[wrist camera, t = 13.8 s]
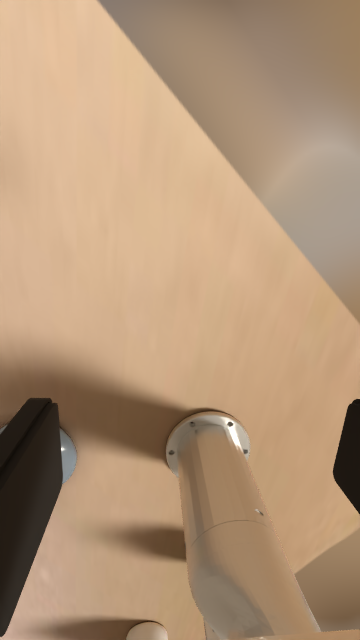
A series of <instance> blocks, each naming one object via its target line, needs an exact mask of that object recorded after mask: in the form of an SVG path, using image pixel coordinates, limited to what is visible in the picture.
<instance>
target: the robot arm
mask: <svg viewBox="0 0 360 640" xmlns="http://www.w3.org/2000/svg"><path fill="white" fill-rule="evenodd" d="M249 454H250V440H249V437H248V434H247V432H246V430H245V428H244V427H243V426H242V424H241V423H240V422H239V421H238V420H236V419H235V418H234V417H232V416H230V415H228V414H225V413H221V412H213V411H209V412H201V413H197V414H194V415H192V416H189V417H187V418H186V419H184V420H183V421H181V422H180V423H179V424H178V425H177V426H176V427H175V428H174V429H173V431H172V432H171V433H170V435H169V438H168V440H167V444H166V458H167V463H168V465H169V468H170V469H171V471H172V472H173V473H174V474H175V475H176V476H177V477H178V478H179V485H180V496H181V507H182V518H183V528H184V539H185V550H186V560H187V570H188V579H189V585H190V588H191V592H192V595H193V598H194V600H195V603H196V605H197V607H198V609H199V611H200V612H201V614H202V616H203V617H204V619H205V620H206V622H207V623H208V624H209V625H210V627H211V628H212V629H213V631H214V632H215V633H216V634H217V635H218V637H219V638H220V639H221V640H360V629H357V630H342V631H329V632H321V630H320V628H319V626H318V624H317V622H316V621H315V618H314V617H313V615H312V613H311V611H310V609H309V607H308V605H307V602H306V600H305V598H304V596H303V594H302V592H301V589H300V587H299V585H298V583H297V581H296V578H295V576H294V574H293V571H292V569H291V567H290V564H289V562H288V560H287V557H286V555H285V552H284V550H283V547H282V545H281V543H280V540H279V538H278V536H277V533H276V531H275V528H274V526H273V523H272V521H271V518H270V516H269V514H268V511H267V509H266V506H265V504H264V501H263V499H262V496H261V494H260V492H259V489H258V487H257V484H256V482H255V479H254V477H253V474H252V472H251V470H250V467H249V465H248V462H247V460H248V457H249ZM333 476H334V479H335V481H336V483H337V484H338V486H339V487H340V488H341V490H342V491H343V492H344V494H345V495H346V496H347V498H348V499H349V500H350V502H351V503H352V504H353V506H354V507H355V509H356V510H357V511H358V513H359V514H360V399H356V400H354V401H353V402H352V404H350V405H349V406H348V409H347V413H346V417H345V421H344V426H343V430H342V434H341V438H340V442H339V447H338V451H337V455H336V459H335V464H334V468H333ZM62 482H63V468H62V454H61V440H60V426H59V412H58V405H57V403H52V400H51V399H50V398H29V399H28V400H27V401H26V403H25V404H24V405H23V406H22V408H21V409H20V410H19V411H18V413H17V414H16V415H15V416H14V418H13V419H12V420H11V421H10V423H9V424H8V425H7V426H6V428H5V429H4V430H3V431H2V433H1V434H0V637H2V636H3V635H4V634H5V632H6V630H7V628H8V626H9V624H10V621H11V618H12V616H13V613H14V610H15V608H16V605H17V603H18V600H19V597H20V595H21V592H22V590H23V587H24V584H25V582H26V579H27V577H28V574H29V571H30V569H31V566H32V563H33V561H34V558H35V556H36V553H37V550H38V548H39V545H40V543H41V540H42V537H43V535H44V532H45V529H46V527H47V524H48V522H49V519H50V516H51V514H52V511H53V509H54V506H55V503H56V501H57V498H58V495H59V493H60V490H61V487H62Z"/></svg>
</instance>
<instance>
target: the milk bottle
mask: <svg viewBox="0 0 360 640" xmlns="http://www.w3.org/2000/svg"><path fill="white" fill-rule="evenodd" d="M126 640H168V636H167V632H166V630H165V628H164V627H163V626H162V625H160V624H158V623H154V622H145V623H140V624H138V625H136V626H134V627H133V628H132V629H131V630H130V631H129V632H128V635H127V638H126Z"/></svg>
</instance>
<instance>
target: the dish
mask: <svg viewBox="0 0 360 640" xmlns="http://www.w3.org/2000/svg"><path fill="white" fill-rule="evenodd" d="M7 425H8V424H7ZM7 425H5V426H4V427H2V428H1V429H0V434H1V433H2V431H3V430H4V429H5V428H6V426H7ZM60 440H61V454H62V468H63V482H62V484H63V483H65V482H66V481H67V480H68V479H69V478H70V476H71V475H72V473H73V471H74V469H75V466H76V462H77V451H76V448H75V445H74V443H73V441H72V439H71V438H70V437H69V436H68V434H67V433H66V432H64V431H63V430H62V429H61V428H60Z"/></svg>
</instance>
